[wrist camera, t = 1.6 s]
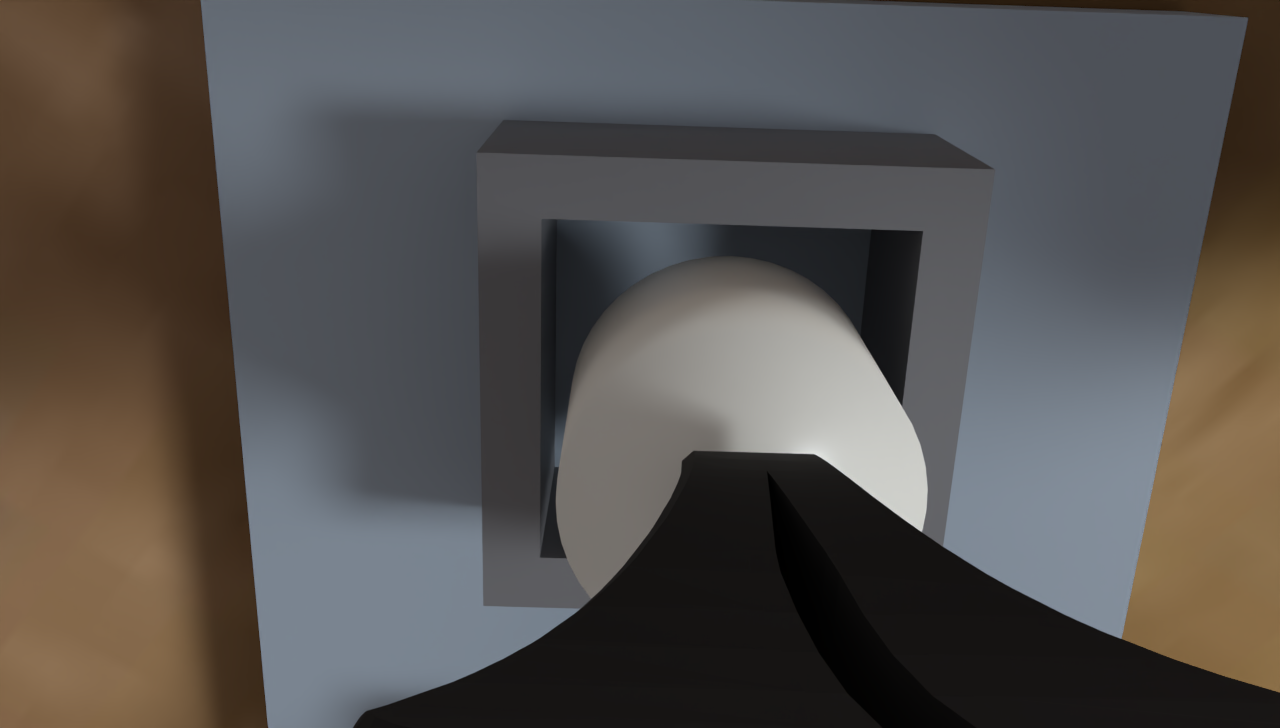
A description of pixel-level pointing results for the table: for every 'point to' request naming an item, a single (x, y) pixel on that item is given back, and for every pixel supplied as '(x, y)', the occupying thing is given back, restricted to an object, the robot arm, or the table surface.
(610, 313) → the cream plunger
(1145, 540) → the table surface
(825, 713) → the robot arm
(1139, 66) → the panel
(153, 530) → the table surface
